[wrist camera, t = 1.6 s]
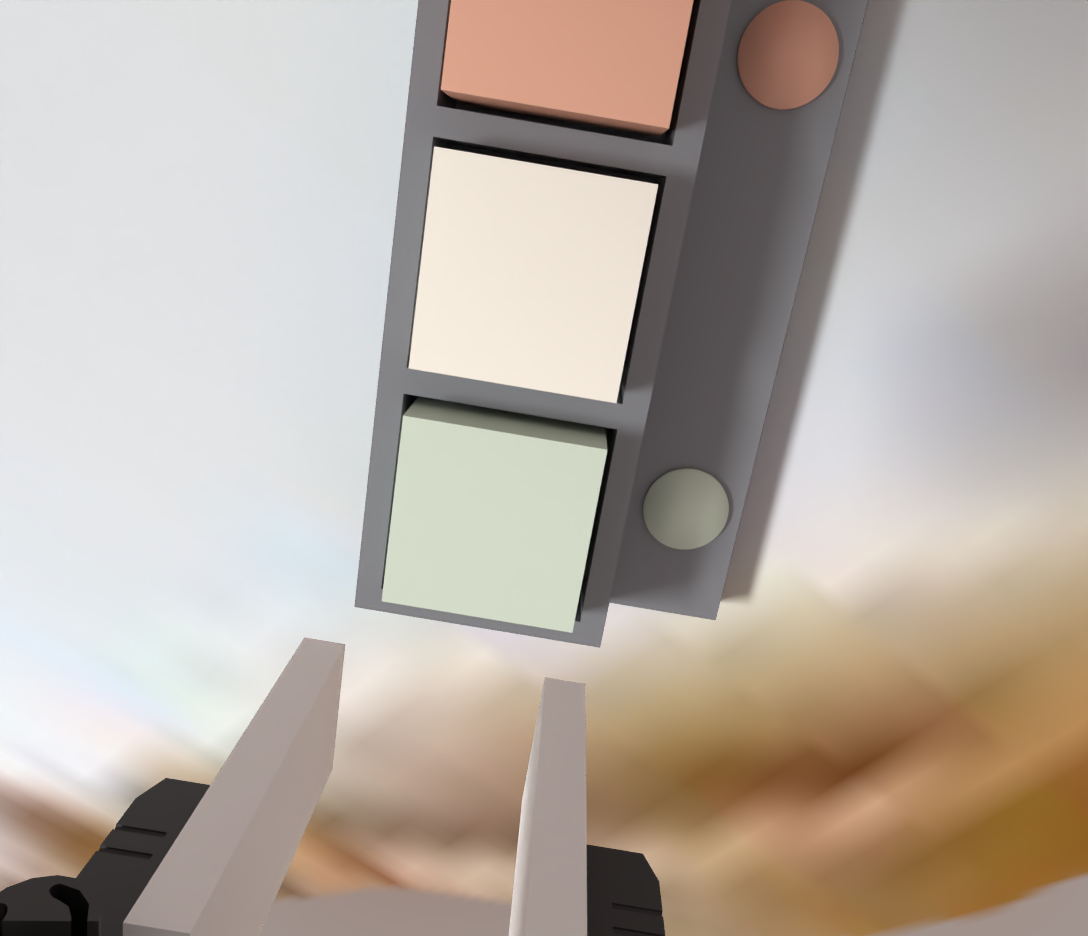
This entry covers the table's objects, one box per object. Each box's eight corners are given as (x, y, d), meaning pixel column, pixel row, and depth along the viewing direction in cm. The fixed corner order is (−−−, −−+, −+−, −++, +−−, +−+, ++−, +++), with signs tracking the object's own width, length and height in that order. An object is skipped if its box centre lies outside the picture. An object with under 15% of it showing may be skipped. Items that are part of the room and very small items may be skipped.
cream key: (426, 350, 27) (408, 368, 24) (450, 152, 26) (434, 146, 23) (612, 382, 27) (616, 403, 25) (649, 186, 26) (658, 184, 23)
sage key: (400, 562, 30) (381, 601, 27) (421, 393, 28) (403, 415, 25) (573, 591, 30) (572, 632, 27) (604, 424, 28) (607, 449, 25)
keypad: (387, 548, 33) (354, 606, 28) (466, -140, 26) (441, -216, 21) (709, 602, 33) (731, 669, 28) (872, -70, 26) (936, -130, 22)
